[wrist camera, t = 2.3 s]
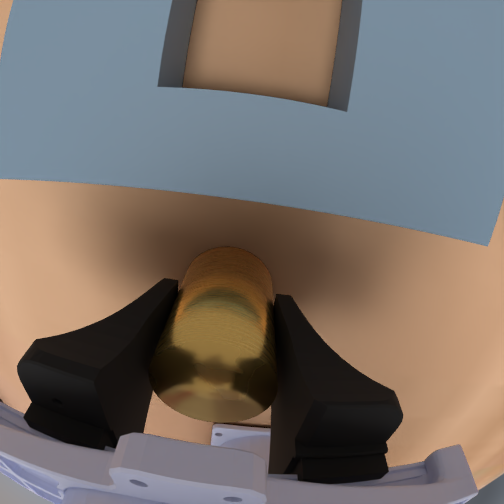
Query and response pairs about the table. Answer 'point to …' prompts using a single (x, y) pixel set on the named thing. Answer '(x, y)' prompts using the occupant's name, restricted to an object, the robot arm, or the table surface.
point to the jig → (266, 112)
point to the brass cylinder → (219, 340)
